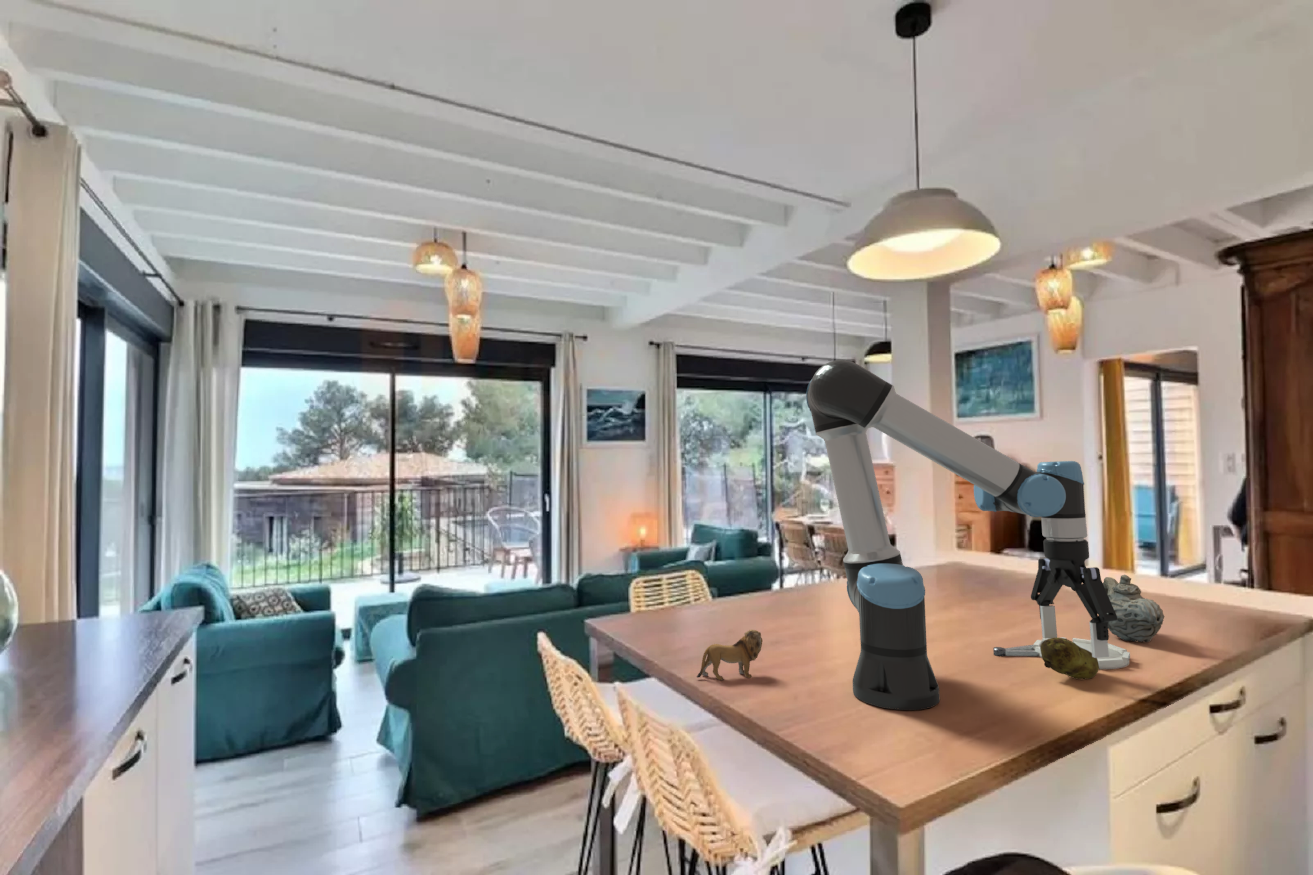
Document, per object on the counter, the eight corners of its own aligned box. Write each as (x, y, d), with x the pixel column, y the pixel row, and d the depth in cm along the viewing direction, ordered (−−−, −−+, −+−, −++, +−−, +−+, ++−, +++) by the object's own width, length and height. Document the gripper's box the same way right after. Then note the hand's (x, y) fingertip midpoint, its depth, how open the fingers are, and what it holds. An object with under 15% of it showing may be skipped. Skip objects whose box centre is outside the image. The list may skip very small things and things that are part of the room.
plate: (1072, 671, 128) (1071, 662, 128) (1018, 647, 144) (1017, 639, 145) (1150, 667, 129) (1150, 658, 129) (1088, 643, 146) (1087, 636, 146)
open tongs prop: (1007, 661, 135) (1007, 654, 135) (982, 649, 144) (982, 643, 144) (1078, 657, 136) (1078, 651, 136) (1049, 645, 145) (1048, 639, 145)
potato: (1120, 682, 121) (1117, 640, 121) (1059, 687, 119) (1056, 644, 119) (1085, 668, 129) (1083, 629, 129) (1028, 673, 127) (1025, 633, 128)
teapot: (1187, 652, 138) (1183, 583, 138) (1129, 651, 140) (1125, 582, 140) (1130, 627, 159) (1126, 567, 159) (1080, 626, 161) (1077, 567, 161)
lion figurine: (757, 668, 135) (756, 626, 135) (768, 676, 130) (766, 632, 130) (692, 676, 131) (691, 632, 132) (701, 684, 126) (699, 639, 126)
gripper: (1134, 544, 113) (1145, 664, 112) (1040, 531, 138) (1048, 629, 137) (1095, 547, 112) (1105, 667, 111) (1007, 533, 137) (1015, 631, 136)
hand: (1073, 647), depth 124 cm, fingers open, 13 cm apart
